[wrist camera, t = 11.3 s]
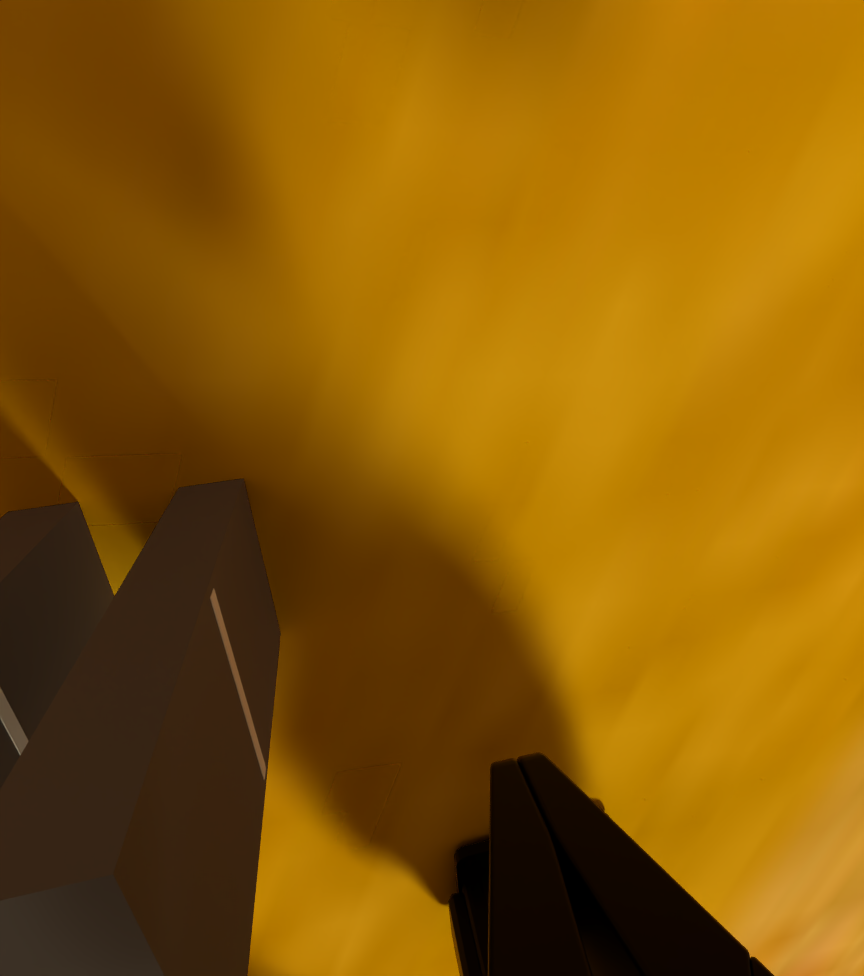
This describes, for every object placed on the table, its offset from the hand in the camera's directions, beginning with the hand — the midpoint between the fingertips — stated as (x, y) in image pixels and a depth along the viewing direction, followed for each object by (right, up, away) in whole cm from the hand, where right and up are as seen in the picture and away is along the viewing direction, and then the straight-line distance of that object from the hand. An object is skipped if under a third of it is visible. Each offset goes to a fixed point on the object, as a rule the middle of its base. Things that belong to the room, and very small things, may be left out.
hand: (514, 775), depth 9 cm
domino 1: (-7, +2, +6) cm, 10 cm away
